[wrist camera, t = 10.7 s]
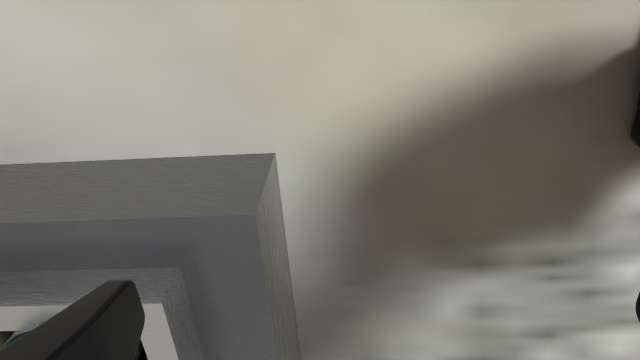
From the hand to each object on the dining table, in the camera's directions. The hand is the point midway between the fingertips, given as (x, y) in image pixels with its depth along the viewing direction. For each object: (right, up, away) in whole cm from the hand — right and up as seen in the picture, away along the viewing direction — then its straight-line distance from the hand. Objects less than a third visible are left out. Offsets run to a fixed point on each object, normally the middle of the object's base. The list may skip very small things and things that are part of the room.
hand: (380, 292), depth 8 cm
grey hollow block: (-12, -3, +17) cm, 21 cm away
